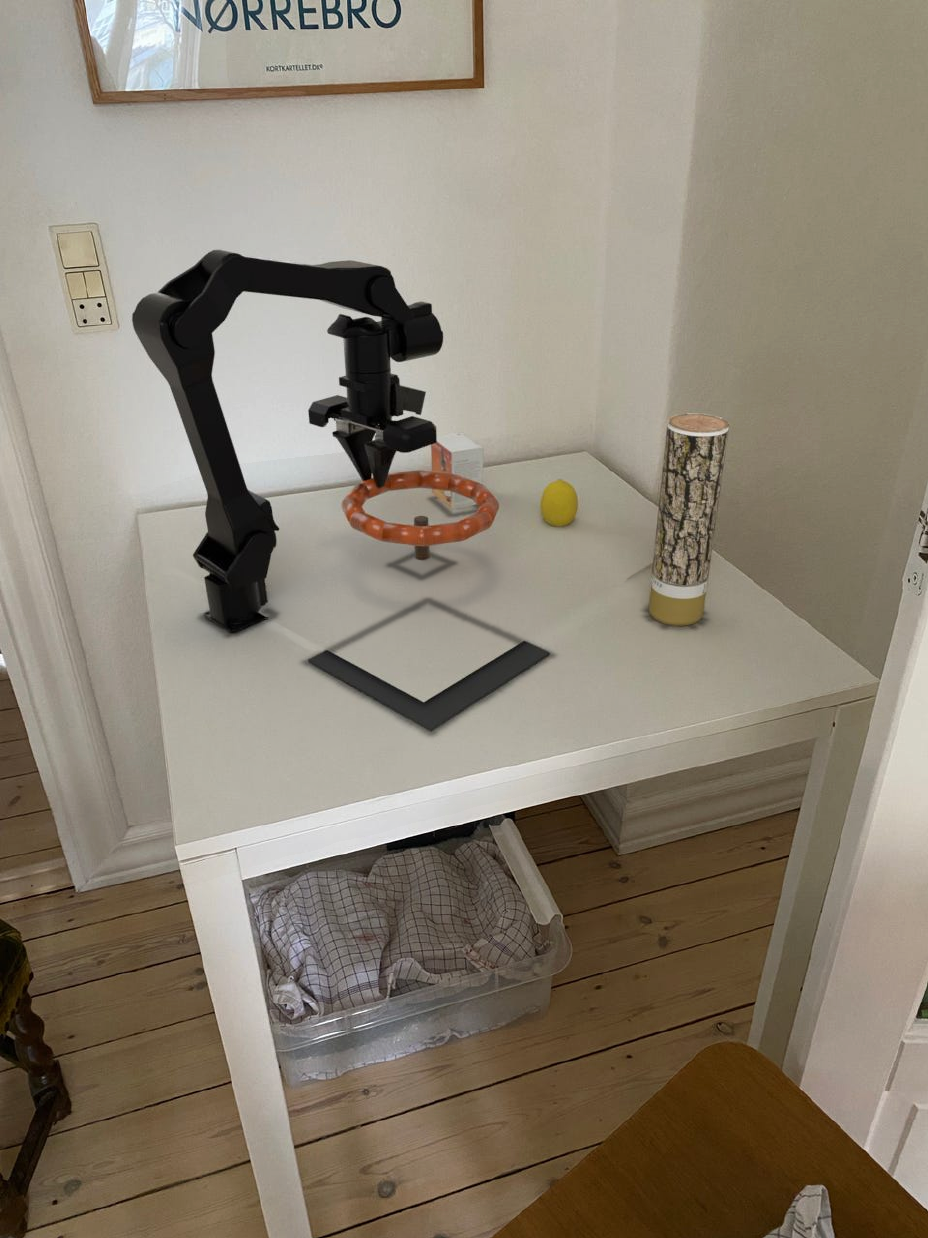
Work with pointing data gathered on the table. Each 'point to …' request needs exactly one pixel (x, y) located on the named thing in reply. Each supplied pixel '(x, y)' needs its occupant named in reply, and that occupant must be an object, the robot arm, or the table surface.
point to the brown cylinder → (421, 551)
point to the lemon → (559, 503)
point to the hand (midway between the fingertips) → (374, 484)
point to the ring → (421, 533)
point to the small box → (457, 464)
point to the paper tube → (687, 516)
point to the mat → (448, 699)
